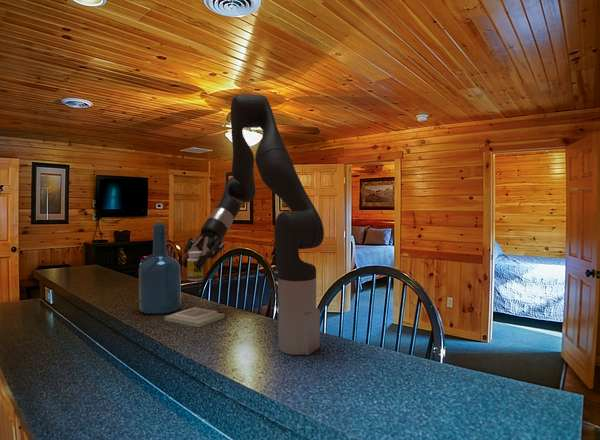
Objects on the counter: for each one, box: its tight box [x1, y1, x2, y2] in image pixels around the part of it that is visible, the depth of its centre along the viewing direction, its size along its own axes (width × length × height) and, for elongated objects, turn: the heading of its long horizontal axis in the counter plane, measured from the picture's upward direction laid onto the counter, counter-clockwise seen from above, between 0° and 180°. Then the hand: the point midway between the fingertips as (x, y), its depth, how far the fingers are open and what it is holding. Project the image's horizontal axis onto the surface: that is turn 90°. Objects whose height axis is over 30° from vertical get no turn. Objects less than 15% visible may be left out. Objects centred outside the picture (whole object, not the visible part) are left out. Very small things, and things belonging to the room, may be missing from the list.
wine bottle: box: [138, 220, 182, 315], centre depth 129 cm, size 14×13×30 cm
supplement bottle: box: [186, 251, 204, 282], centre depth 118 cm, size 5×5×8 cm
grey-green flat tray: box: [164, 306, 225, 328], centre depth 119 cm, size 14×11×2 cm
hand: (190, 266), depth 116 cm, fingers closed on supplement bottle, 4 cm apart
